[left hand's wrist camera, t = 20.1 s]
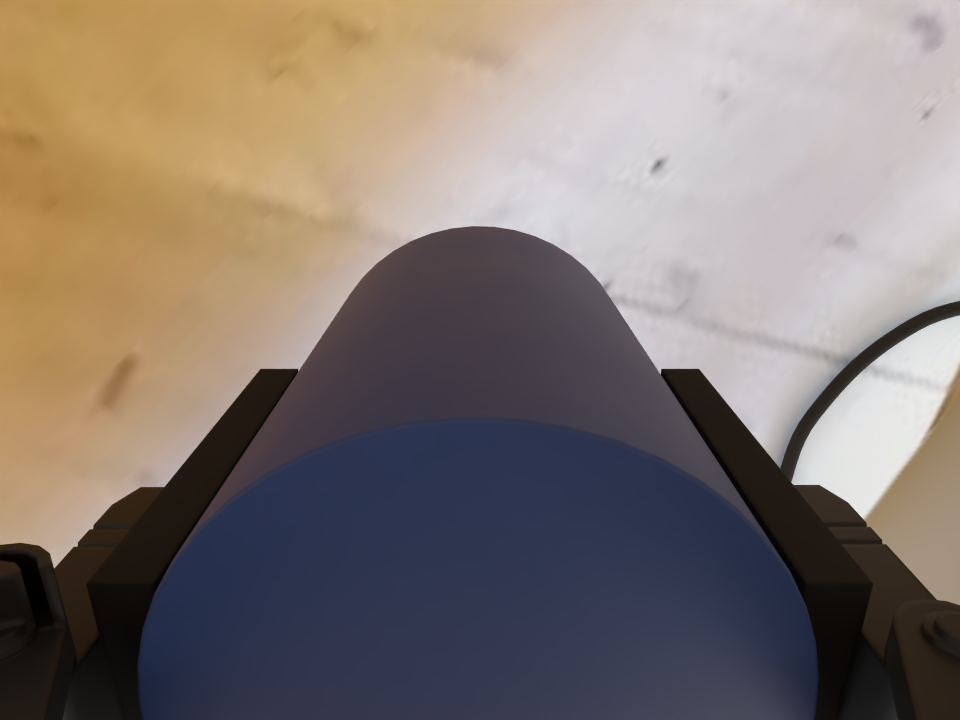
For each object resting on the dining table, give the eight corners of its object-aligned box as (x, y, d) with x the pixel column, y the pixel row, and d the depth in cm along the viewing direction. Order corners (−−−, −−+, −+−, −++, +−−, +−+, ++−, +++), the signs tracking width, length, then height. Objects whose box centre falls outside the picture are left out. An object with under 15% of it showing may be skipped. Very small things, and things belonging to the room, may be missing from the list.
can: (311, 232, 15) (54, 434, 6) (634, 219, 15) (874, 404, 6) (347, 508, 18) (203, 944, 9) (623, 498, 18) (778, 930, 9)
